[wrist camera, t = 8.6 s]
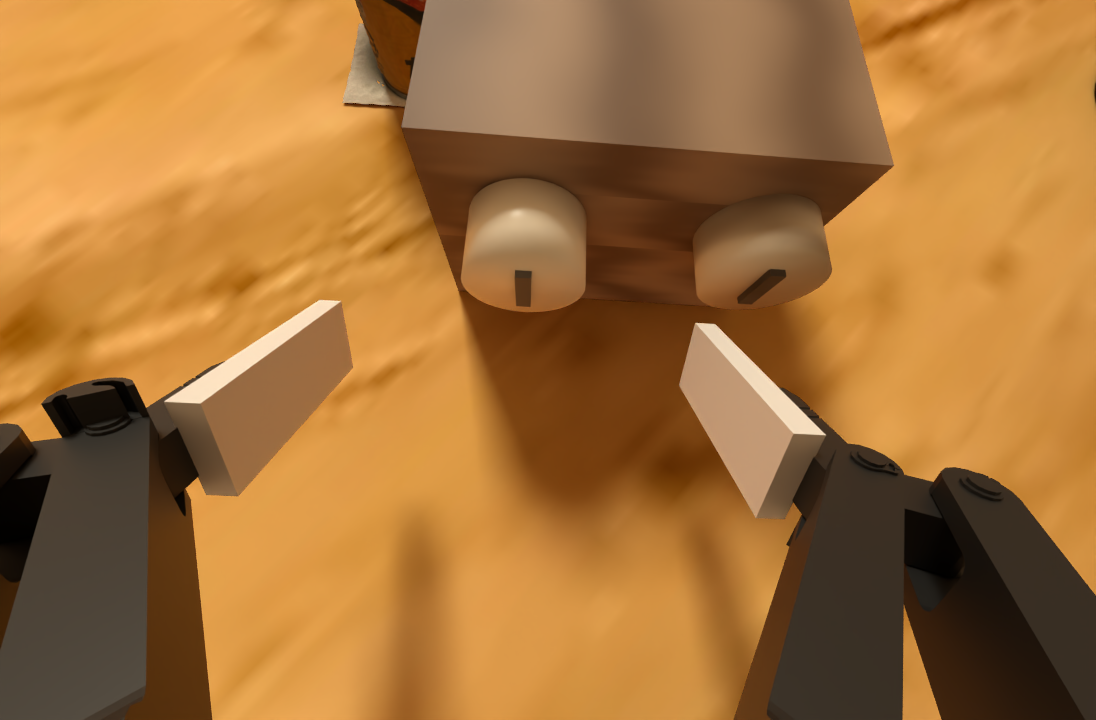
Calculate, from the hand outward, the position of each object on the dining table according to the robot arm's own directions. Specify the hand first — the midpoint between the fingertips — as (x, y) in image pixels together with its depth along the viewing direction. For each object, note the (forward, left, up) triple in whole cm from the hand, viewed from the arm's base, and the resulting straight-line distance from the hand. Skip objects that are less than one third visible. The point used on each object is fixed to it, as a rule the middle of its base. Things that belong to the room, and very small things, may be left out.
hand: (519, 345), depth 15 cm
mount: (-4, -9, -7) cm, 12 cm away
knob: (0, -10, -2) cm, 10 cm away
